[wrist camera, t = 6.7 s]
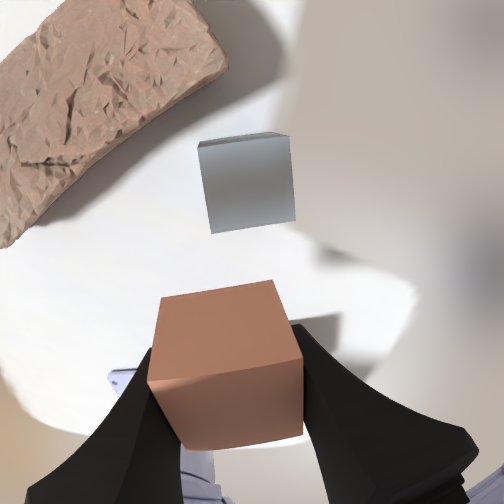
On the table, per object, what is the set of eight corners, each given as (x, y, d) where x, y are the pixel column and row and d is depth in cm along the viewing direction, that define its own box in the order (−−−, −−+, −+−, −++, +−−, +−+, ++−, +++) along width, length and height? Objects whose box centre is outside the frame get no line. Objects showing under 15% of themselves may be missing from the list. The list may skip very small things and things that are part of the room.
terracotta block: (279, 358, 13) (302, 434, 9) (187, 373, 12) (187, 452, 9) (272, 279, 11) (303, 357, 7) (161, 297, 11) (146, 381, 7)
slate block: (277, 198, 18) (295, 220, 15) (210, 209, 18) (211, 233, 14) (270, 132, 16) (288, 136, 13) (199, 141, 16) (197, 148, 12)
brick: (28, 235, 17) (-8, 266, 12) (-29, 145, 13) (-71, 157, 9) (231, 76, 15) (240, 61, 11) (159, -24, 12) (147, -61, 7)
